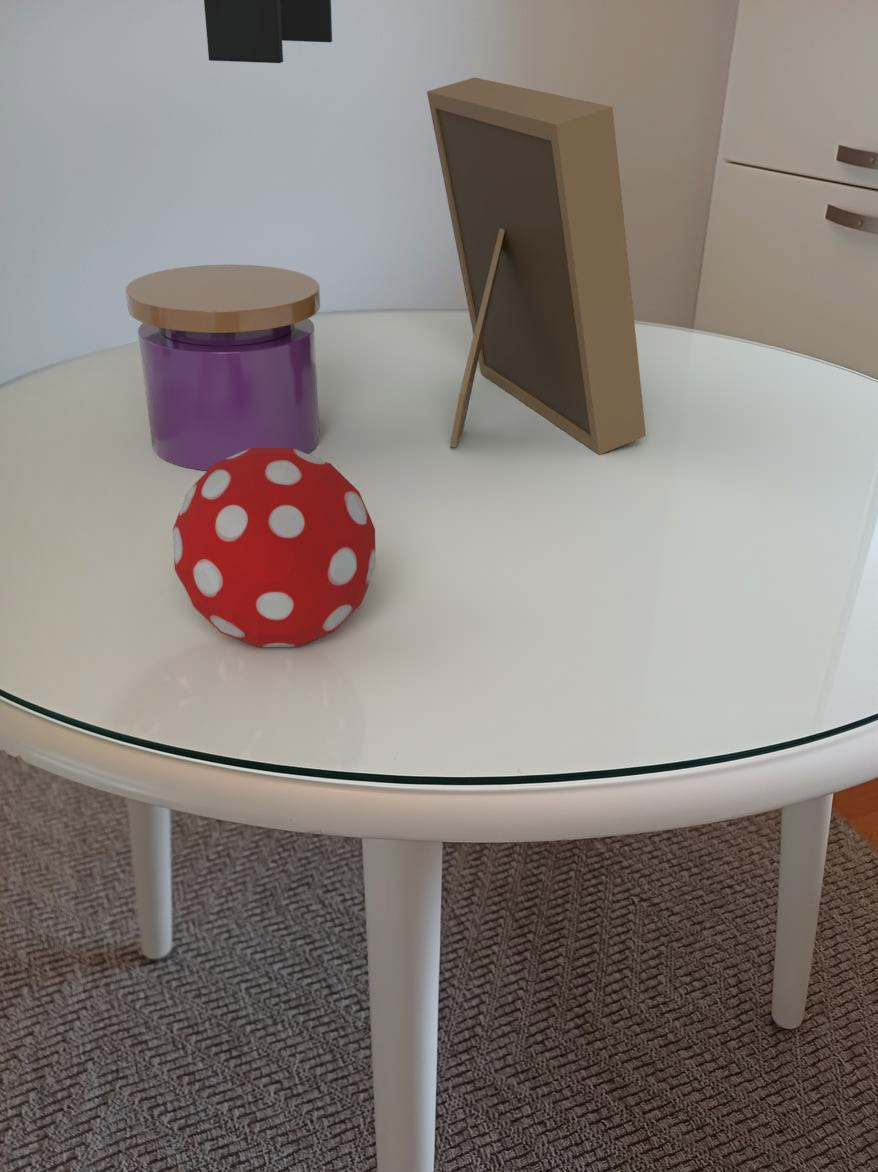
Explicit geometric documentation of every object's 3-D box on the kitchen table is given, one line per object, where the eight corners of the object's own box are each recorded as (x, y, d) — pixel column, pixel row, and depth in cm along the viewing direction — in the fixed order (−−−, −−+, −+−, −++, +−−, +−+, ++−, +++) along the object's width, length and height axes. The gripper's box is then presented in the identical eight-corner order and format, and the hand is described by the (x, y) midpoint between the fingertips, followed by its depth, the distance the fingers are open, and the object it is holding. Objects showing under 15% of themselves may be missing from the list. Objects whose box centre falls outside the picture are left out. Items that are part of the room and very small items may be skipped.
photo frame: (521, 369, 107) (535, 76, 94) (644, 447, 90) (682, 105, 78) (375, 386, 101) (369, 78, 89) (478, 473, 85) (489, 109, 72)
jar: (112, 462, 84) (88, 301, 78) (193, 403, 96) (178, 258, 90) (288, 483, 82) (278, 318, 76) (349, 420, 94) (344, 272, 88)
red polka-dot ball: (263, 408, 70) (231, 402, 56) (411, 507, 72) (418, 526, 58) (169, 556, 72) (114, 588, 57) (318, 649, 74) (301, 704, 59)
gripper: (287, -898, 27) (322, 77, 38) (387, -518, 49) (391, 37, 60) (-22, -908, 27) (102, 69, 38) (214, -524, 49) (250, 32, 60)
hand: (278, 51), depth 49 cm, fingers open, 13 cm apart
